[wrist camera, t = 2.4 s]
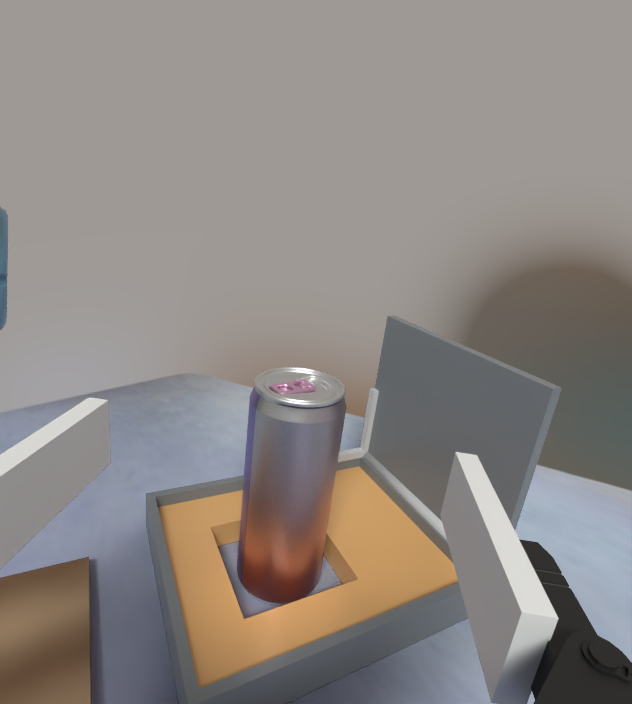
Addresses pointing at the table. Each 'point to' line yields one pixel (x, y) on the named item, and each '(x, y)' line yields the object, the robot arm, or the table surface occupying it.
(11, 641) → the walnut board
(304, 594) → the beverage can
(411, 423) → the equipment case
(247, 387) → the table surface
